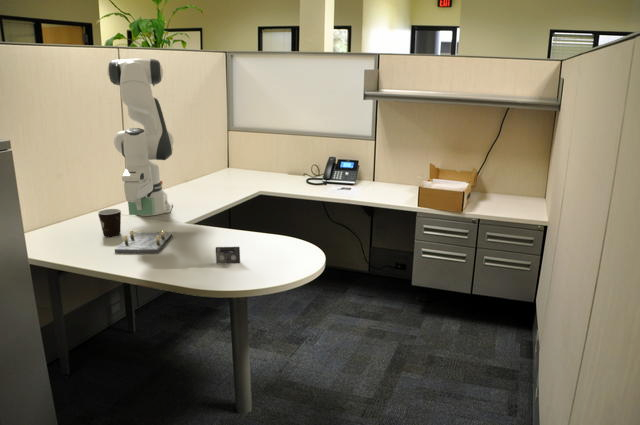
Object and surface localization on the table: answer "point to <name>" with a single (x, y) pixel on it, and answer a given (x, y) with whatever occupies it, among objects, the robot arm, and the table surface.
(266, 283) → the table surface
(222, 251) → the mini dv tape
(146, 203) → the green block
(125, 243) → the chassis plate
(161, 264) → the table surface
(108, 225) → the coffee mug
